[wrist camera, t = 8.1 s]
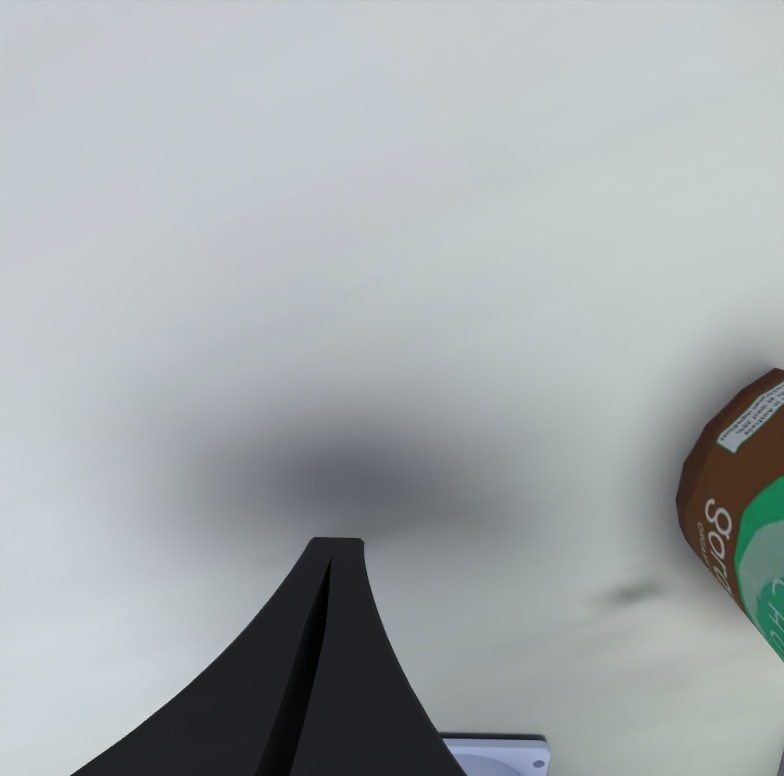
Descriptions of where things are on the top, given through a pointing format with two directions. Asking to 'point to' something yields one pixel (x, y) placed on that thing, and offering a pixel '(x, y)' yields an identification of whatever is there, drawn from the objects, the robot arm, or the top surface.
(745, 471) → the food container
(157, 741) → the robot arm
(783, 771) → the hip flask
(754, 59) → the top surface
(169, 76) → the top surface
